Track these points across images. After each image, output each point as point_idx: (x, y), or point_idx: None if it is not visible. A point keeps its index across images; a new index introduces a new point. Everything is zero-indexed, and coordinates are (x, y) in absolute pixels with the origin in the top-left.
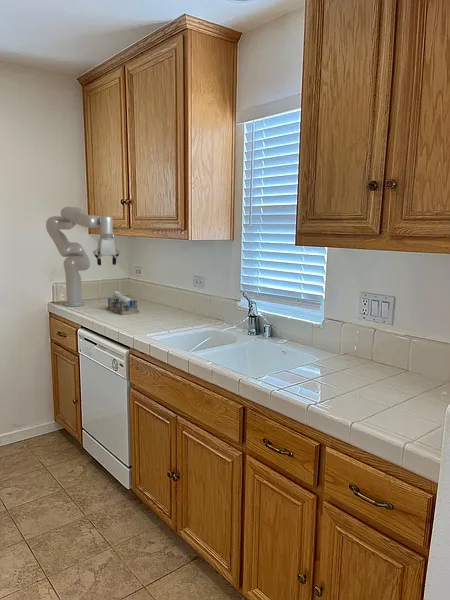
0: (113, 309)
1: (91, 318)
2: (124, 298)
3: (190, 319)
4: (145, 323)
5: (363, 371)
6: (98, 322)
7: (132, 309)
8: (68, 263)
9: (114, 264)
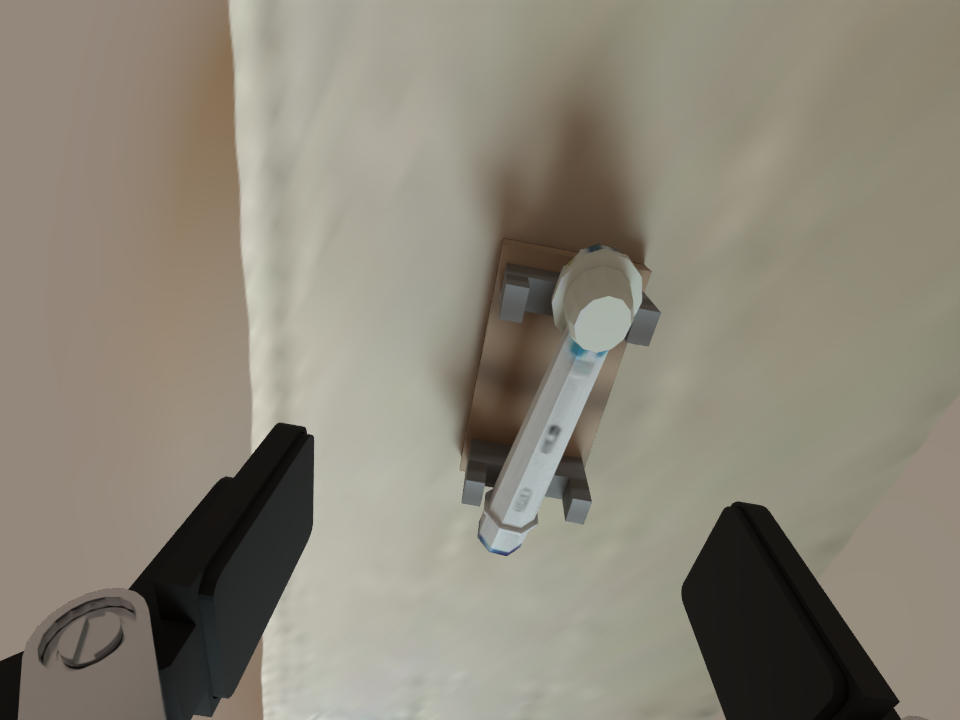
0: (481, 356)
1: (268, 411)
2: (508, 494)
3: (618, 694)
4: (421, 636)
5: None
6: None
7: None
8: None
9: (684, 588)
